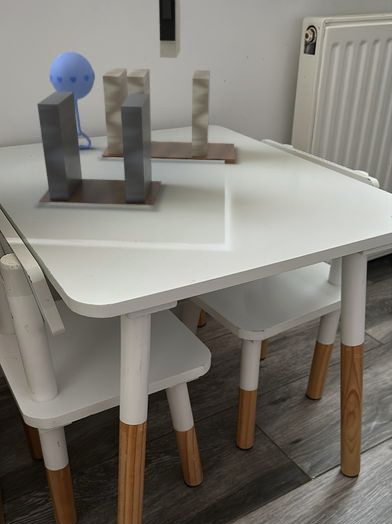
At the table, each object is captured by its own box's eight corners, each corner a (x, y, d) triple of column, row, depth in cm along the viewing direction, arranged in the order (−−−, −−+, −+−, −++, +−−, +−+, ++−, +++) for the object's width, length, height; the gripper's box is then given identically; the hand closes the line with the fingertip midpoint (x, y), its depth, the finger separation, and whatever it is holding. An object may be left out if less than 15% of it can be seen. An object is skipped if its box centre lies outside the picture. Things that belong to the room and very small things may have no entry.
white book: (159, 57, 100) (158, -38, 92) (164, 50, 108) (163, -37, 100) (176, 57, 100) (176, -38, 92) (180, 51, 108) (180, -37, 100)
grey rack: (39, 207, 87) (24, 105, 79) (58, 183, 97) (47, 90, 89) (154, 211, 87) (151, 108, 78) (161, 186, 97) (159, 93, 88)
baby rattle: (59, 155, 112) (46, 55, 102) (57, 144, 119) (46, 49, 109) (102, 153, 114) (94, 54, 103) (98, 143, 120) (91, 49, 110)
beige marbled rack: (102, 160, 110) (96, 76, 101) (112, 144, 119) (107, 67, 111) (234, 164, 109) (239, 80, 100) (233, 148, 119) (237, 70, 110)
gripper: (187, -130, 81) (187, 44, 93) (194, -111, 99) (193, 32, 112) (136, -131, 81) (142, 43, 93) (152, -112, 99) (155, 31, 112)
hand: (170, 37), depth 102 cm, fingers closed on white book, 10 cm apart
